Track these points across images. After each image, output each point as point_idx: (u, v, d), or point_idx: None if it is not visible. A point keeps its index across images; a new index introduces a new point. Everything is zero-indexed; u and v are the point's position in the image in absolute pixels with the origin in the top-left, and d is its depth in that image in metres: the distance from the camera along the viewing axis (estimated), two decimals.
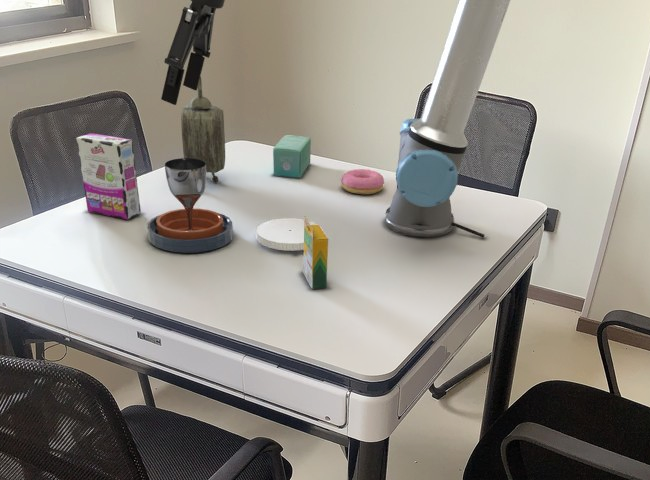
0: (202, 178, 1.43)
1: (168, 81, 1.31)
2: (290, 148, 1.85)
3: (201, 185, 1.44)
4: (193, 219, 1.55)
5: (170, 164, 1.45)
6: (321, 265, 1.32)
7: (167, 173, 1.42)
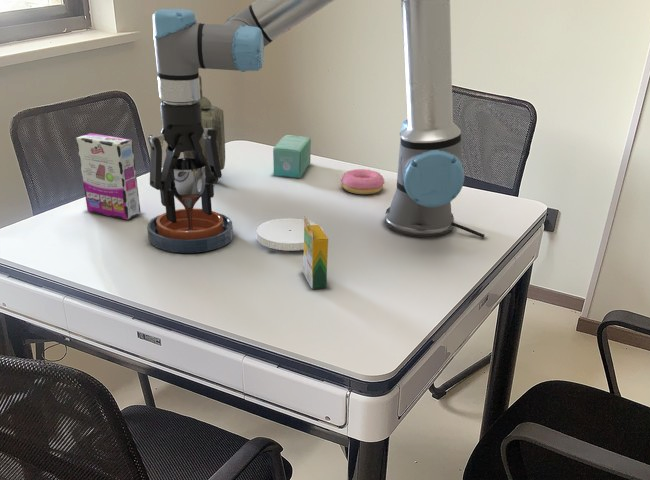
0: (203, 178, 1.43)
1: (161, 202, 1.44)
2: (290, 148, 1.85)
3: (201, 185, 1.44)
4: (193, 219, 1.55)
5: None
6: (321, 265, 1.32)
7: None
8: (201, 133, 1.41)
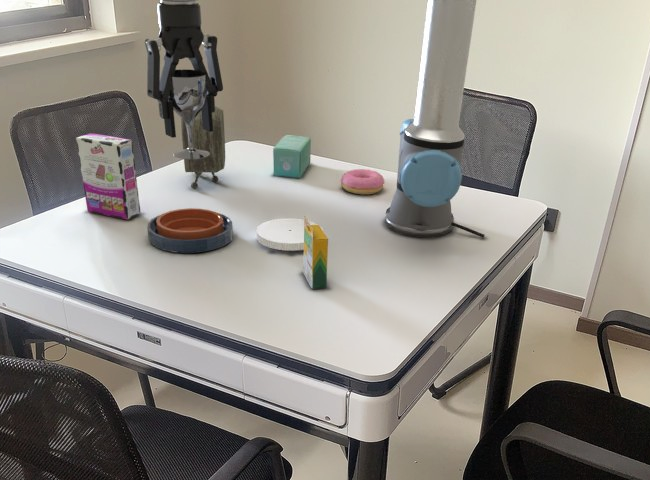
0: (203, 88, 1.36)
1: (160, 115, 1.37)
2: (290, 148, 1.85)
3: (201, 96, 1.36)
4: (193, 219, 1.55)
5: None
6: (321, 265, 1.32)
7: None
8: (201, 39, 1.34)
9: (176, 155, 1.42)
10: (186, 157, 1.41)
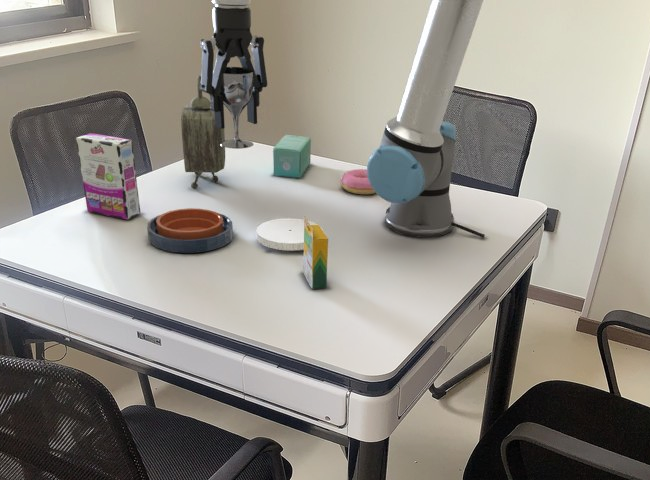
0: (250, 84, 1.50)
1: (211, 108, 1.51)
2: (290, 148, 1.85)
3: (249, 91, 1.50)
4: (193, 219, 1.55)
5: None
6: (321, 265, 1.32)
7: None
8: (250, 40, 1.48)
9: (223, 145, 1.56)
10: (233, 146, 1.55)
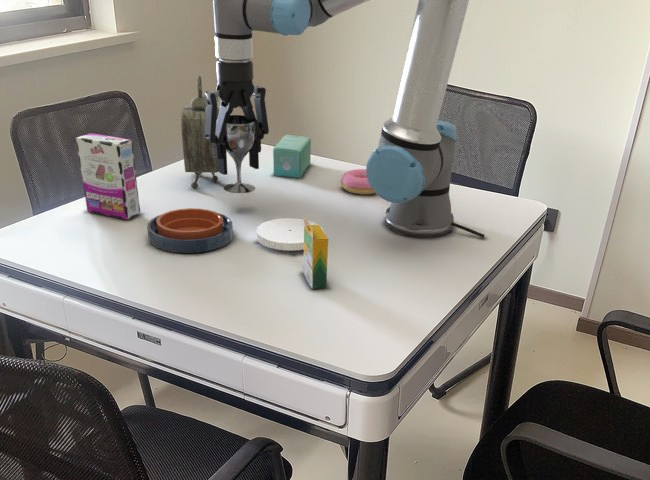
0: (252, 133, 1.55)
1: (214, 155, 1.56)
2: (290, 148, 1.85)
3: (251, 139, 1.56)
4: (193, 219, 1.55)
5: None
6: (321, 265, 1.32)
7: None
8: (252, 91, 1.53)
9: (226, 189, 1.62)
10: (235, 191, 1.61)
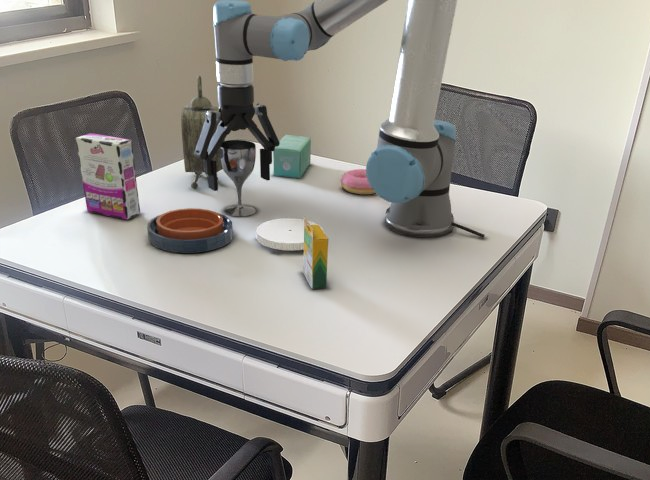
0: (253, 158, 1.58)
1: (204, 171, 1.56)
2: (290, 148, 1.85)
3: (251, 164, 1.59)
4: (193, 219, 1.55)
5: (222, 145, 1.60)
6: (321, 265, 1.32)
7: (221, 153, 1.57)
8: (253, 113, 1.56)
9: (227, 212, 1.65)
10: (236, 214, 1.64)
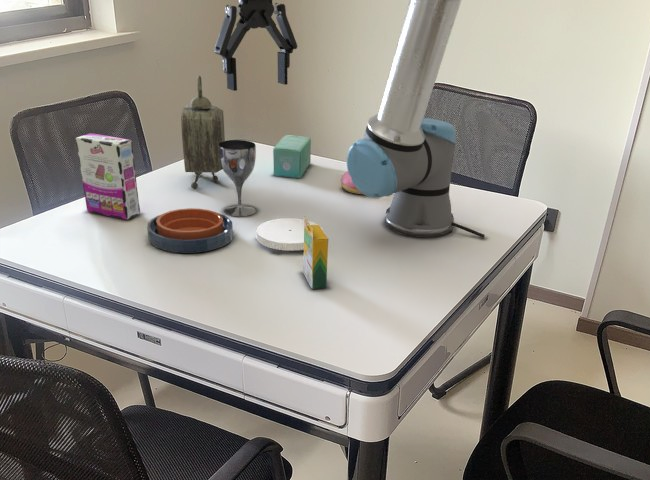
0: (253, 158, 1.58)
1: (224, 70, 1.55)
2: (290, 148, 1.85)
3: (251, 164, 1.59)
4: (193, 219, 1.55)
5: (222, 145, 1.60)
6: (321, 265, 1.32)
7: (221, 153, 1.57)
8: (272, 11, 1.55)
9: (227, 212, 1.65)
10: (236, 214, 1.64)
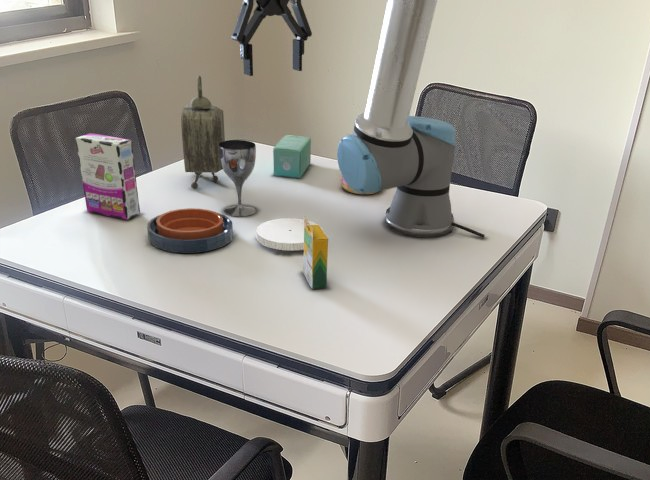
0: (253, 158, 1.58)
1: (240, 56, 1.62)
2: (290, 148, 1.85)
3: (251, 164, 1.59)
4: (193, 219, 1.55)
5: (222, 145, 1.60)
6: (321, 265, 1.32)
7: (221, 153, 1.57)
8: (287, 0, 1.61)
9: (227, 212, 1.65)
10: (236, 214, 1.64)
